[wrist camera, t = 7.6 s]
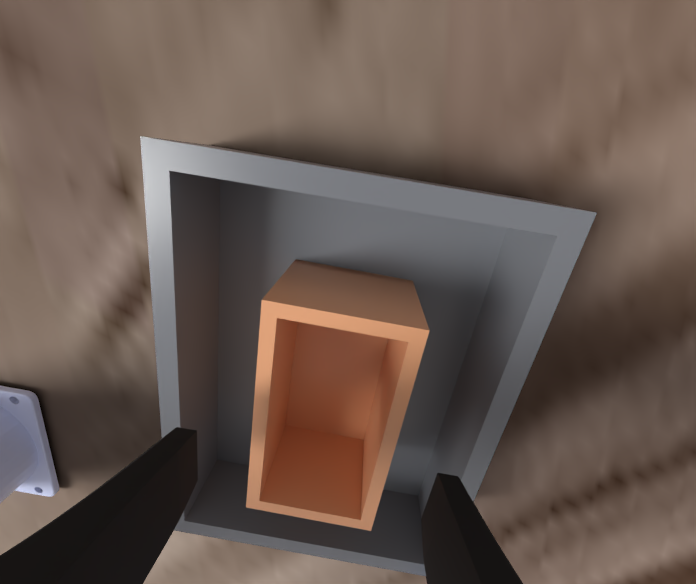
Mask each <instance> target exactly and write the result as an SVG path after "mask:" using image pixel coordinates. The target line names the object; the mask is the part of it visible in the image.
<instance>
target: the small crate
mask: <svg viewBox="0 0 696 584" xmlns="http://www.w3.org/2000/svg"><path fill="white" fill-rule="evenodd" d="M429 331H430V330H429V327H428V324H427V321H426V318H425V315H424V313H423V310H422V307H421V304H420V301H419V298H418V295H417V292H416V289H415V286H414V283H413V281H412V280H407V279H401V278H396V277H390V276H385V275H379V274H374V273H368V272H363V271H357V270H352V269H346V268H341V267H335V266H330V265H324V264H319V263H314V262H308V261H303V260H297V259H296V260H295V261H294V262H293V263H292V264H291V265H290V267H289V268H288V269H287V270H286V271H285V273H284V274H283V275H282V276H281V277H280V279H279V280H278V281H277V282H276V283H275V284H274V286H273V287H272V288H271V289H270V290H269V292H268V293H267V294H266V295H265V296H264V298H263V299H262V302H261V315H260V328H259V342H258V355H257V368H256V381H255V395H254V408H253V421H252V434H251V447H250V461H249V474H248V487H247V500H246V507H247V508H252V509H257V510H263V511H268V512H273V513H279V514H284V515H289V516H294V517H300V518H305V519H310V520H316V521H321V522H326V523H331V524H337V525H342V526H347V527H353V528H358V529H363V530H368V531H371V529H372V526H373V522H374V519H375V516H376V512H377V509H378V505H379V502H380V499H381V495H382V492H383V488H384V485H385V481H386V478H387V475H388V471H389V468H390V464H391V461H392V458H393V454H394V451H395V447H396V444H397V440H398V437H399V434H400V430H401V427H402V423H403V420H404V416H405V413H406V410H407V406H408V403H409V399H410V396H411V393H412V389H413V386H414V382H415V379H416V375H417V372H418V369H419V365H420V362H421V358H422V355H423V352H424V348H425V345H426V341H427V338H428V334H429Z"/></svg>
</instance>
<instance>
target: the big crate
mask: <svg viewBox="0 0 696 584" xmlns="http://www.w3.org/2000/svg"><path fill="white" fill-rule="evenodd" d="M140 139H141V153H142V167H143V181H144V195H145V209H146V223H147V237H148V251H149V265H150V279H151V293H152V308H153V322H154V336H155V350H156V364H157V378H158V392H159V406H160V420H161V434H162V438H163V437H164V436H166V435H167V434H168V433H169V432H171V431H172V430H173V429H175V428H176V427H180V428H185V429H191V430H197V461H198V481H197V483H196V485H195V488H194V490H193V492H192V494H191V497H190V499H189V501H188V503H187V505H186V507H185V510H184V512H183V514H182V516H181V518H180V520H179V522H178V523H177V525H176V527H175V529H174V530H176V531H181V532H187V533H192V534H197V535H203V536H208V537H214V538H219V539H225V540H230V541H236V542H241V543H247V544H252V545H258V546H263V547H269V548H274V549H280V550H285V551H291V552H296V553H302V554H307V555H312V556H318V557H323V558H329V559H334V560H340V561H345V562H351V563H356V564H362V565H367V566H373V567H378V568H384V569H389V570H395V571H400V572H406V573H411V574H416V575H422V576H426V573H425V566H424V558H423V544H422V527H421V518H422V515H423V512H424V509H425V507H426V504H427V501H428V498H429V495H430V492H431V490H432V487H433V484H434V481H435V478H436V475H437V473H443V474H449V475H454V476H458V477H459V478H460V480H461V481H462V483H463V485H464V487H465V488H466V490H467V492H468V494H469V496H470V497H471V499H472V501H474V499H475V497H476V494H477V492H478V490H479V487H480V485H481V483H482V480H483V478H484V476H485V473H486V471H487V469H488V466H489V464H490V462H491V459H492V457H493V455H494V452H495V450H496V448H497V445H498V443H499V441H500V438H501V436H502V434H503V431H504V429H505V427H506V424H507V422H508V420H509V417H510V415H511V413H512V410H513V408H514V406H515V403H516V401H517V399H518V396H519V394H520V392H521V389H522V387H523V385H524V382H525V380H526V378H527V375H528V373H529V371H530V368H531V366H532V364H533V361H534V359H535V357H536V354H537V352H538V349H539V347H540V345H541V342H542V340H543V338H544V335H545V333H546V331H547V328H548V326H549V324H550V321H551V319H552V317H553V314H554V312H555V310H556V307H557V305H558V303H559V300H560V298H561V296H562V293H563V291H564V289H565V286H566V284H567V282H568V279H569V277H570V275H571V272H572V270H573V268H574V265H575V263H576V261H577V258H578V256H579V254H580V251H581V249H582V247H583V244H584V242H585V240H586V237H587V235H588V233H589V230H590V228H591V226H592V223H593V221H594V219H595V216H596V214H597V213H596V212H591V211H587V210H582V209H577V208H572V207H567V206H562V205H558V204H553V203H548V202H543V201H538V200H533V199H528V198H522V197H516V196H510V195H504V194H498V193H492V192H486V191H480V190H474V189H468V188H462V187H456V186H450V185H444V184H438V183H432V182H426V181H420V180H414V179H408V178H402V177H396V176H390V175H384V174H378V173H372V172H366V171H360V170H354V169H348V168H342V167H336V166H330V165H325V164H319V163H313V162H307V161H301V160H295V159H289V158H283V157H277V156H271V155H265V154H259V153H253V152H247V151H241V150H235V149H229V148H223V147H217V146H211V145H204V144H197V143H189V142H181V141H174V140H166V139H158V138H151V137H143V136H140ZM296 259H297V260H303V261H308V262H314V263H319V264H324V265H330V266H335V267H341V268H346V269H352V270H357V271H363V272H368V273H374V274H379V275H385V276H390V277H396V278H401V279H407V280H412V281H413V283H414V286H415V289H416V292H417V295H418V298H419V301H420V304H421V307H422V310H423V313H424V315H425V318H426V321H427V324H428V327H429V330H430V331H429V334H428V338H427V341H426V345H425V348H424V352H423V355H422V358H421V362H420V365H419V369H418V372H417V375H416V379H415V382H414V386H413V389H412V393H411V396H410V399H409V403H408V406H407V410H406V413H405V416H404V420H403V423H402V427H401V430H400V434H399V437H398V440H397V444H396V447H395V451H394V454H393V458H392V461H391V464H390V468H389V471H388V475H387V478H386V481H385V485H384V488H383V492H382V495H381V499H380V502H379V505H378V509H377V512H376V516H375V519H374V522H373V526H372V529H371V531H368V530H363V529H358V528H353V527H347V526H342V525H337V524H331V523H326V522H321V521H316V520H310V519H305V518H300V517H294V516H289V515H284V514H279V513H273V512H268V511H263V510H257V509H252V508H247V507H246V500H247V487H248V474H249V461H250V447H251V434H252V421H253V408H254V395H255V381H256V368H257V355H258V342H259V328H260V315H261V302H262V299H263V298H264V296H265V295H266V294H267V293H268V292H269V290H270V289H271V288H272V287H273V286H274V284H275V283H276V282H277V281H278V280H279V279H280V277H281V276H282V275H283V274H284V273H285V271H286V270H287V269H288V268H289V267H290V265H291V264H292V263H293V262H294V261H295V260H296Z"/></svg>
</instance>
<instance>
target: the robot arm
mask: <svg viewBox="0 0 696 584" xmlns="http://www.w3.org/2000/svg"><path fill="white" fill-rule="evenodd" d="M197 481H198V461H197V430H191V429H185V428H180V427H176V428H175V429H173V430H172V431H171V432H169V433H168V434H167V435H166V436H164V437H163V438H162V439H161V440H159V441H158V442H157V443H156V444H154V445H153V446H152V447H151V448H149V449H148V450H147V451H146V452H144V453H143V454H142V455H141V456H139V457H138V458H137V459H136V460H134V461H133V462H132V463H130V464H129V465H128V466H127V467H125V468H124V469H123V470H121V471H120V472H119V473H117V474H116V475H115V476H114V477H112V478H111V479H110V480H108V481H107V482H106V483H104V484H103V485H102V486H100V487H99V488H98V489H96V490H95V491H94V492H92V493H91V494H90V495H88V496H87V497H86V498H84V499H83V500H81V501H80V502H79V503H77V504H76V505H74V506H73V507H71V508H70V509H69V510H67V511H66V512H64V513H63V514H62V515H60V516H59V517H57V518H56V519H55V520H53V521H52V522H50V523H49V524H47V525H46V526H44V527H43V528H42V529H40V530H39V531H37V532H36V533H34V534H33V535H31V536H30V537H28V538H27V539H25V540H24V541H22V542H21V543H19V544H17V545H16V546H14V547H13V548H11V549H10V550H8V551H7V552H5V553H3V554H2V555H0V584H143V582H144V581H145V579H146V577H147V575H148V574H149V572H150V570H151V569H152V567H153V565H154V563H155V562H156V560H157V558H158V557H159V555H160V553H161V551H162V550H163V548H164V546H165V544H166V543H167V541H168V539H169V537H170V536H171V534H172V532H173V531H174V529H175V527H176V525H177V523H178V522H179V520H180V518H181V516H182V514H183V512H184V510H185V507H186V505H187V503H188V501H189V499H190V497H191V494H192V492H193V490H194V488H195V485H196V483H197ZM14 490H15V491H21V492H26V493H32V494H37V495H43V496H49V497H51V496H54V495H55V494H56V493H57V492H58V491H59V484H58V480H57V476H56V471H55V467H54V463H53V459H52V455H51V450H50V446H49V442H48V438H47V434H46V430H45V425H44V421H43V417H42V413H41V409H40V404H39V400H38V397H37V396H36V394H35V393H33V392H31V391H28V390H22V389H17V388H11V387H5V386H0V503H1V502H2V501H3V500H4V499H6V498H7V497H8V496H9V495H10V494H11V493H12V492H13V491H14ZM421 527H422V544H423V558H424V566H425V573H426V579H427V584H523V583H522V581H521V580H520V578H519V577H518V575H517V574H516V572H515V570H514V569H513V567H512V566H511V564H510V562H509V561H508V559H507V558H506V556H505V554H504V553H503V551H502V550H501V548H500V546H499V545H498V543H497V542H496V540H495V538H494V537H493V535H492V533H491V532H490V530H489V528H488V527H487V525H486V523H485V521H484V520H483V518H482V516H481V515H480V513H479V511H478V509H477V508H476V506H475V504H474V503H473V501H472V499H471V497H470V496H469V494H468V492H467V490H466V488H465V487H464V485H463V483H462V481H461V480H460V478H459V477H458V476H454V475H449V474H443V473H437V475H436V478H435V481H434V484H433V487H432V490H431V492H430V495H429V498H428V501H427V504H426V507H425V509H424V512H423V515H422V518H421Z"/></svg>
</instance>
